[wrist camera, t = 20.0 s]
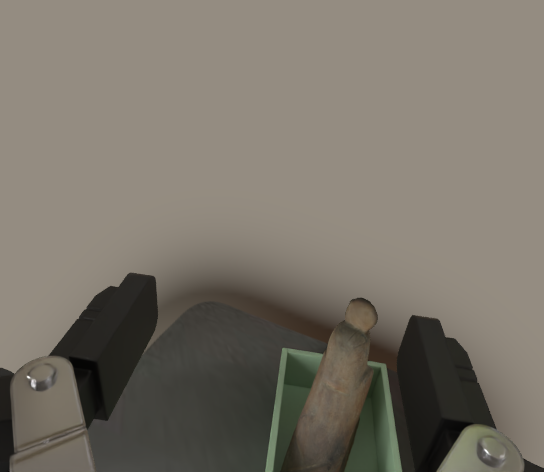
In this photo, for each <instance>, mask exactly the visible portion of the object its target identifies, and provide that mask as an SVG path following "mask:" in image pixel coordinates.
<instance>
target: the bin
mask: <svg viewBox="0 0 544 472" xmlns="http://www.w3.org/2000/svg"><path fill="white" fill-rule="evenodd" d="M322 356H323V354H319V353H313V352H307V351H300V350H294V349H287V348H282V355H281V362H280V369H279V376H278V383H277V391H276V398H275V405H274V412H273V420H272V427H271V434H270V441H269V448H268V456H267V463H266V470H265V472H280V471H281V468H282V465H283V462H284V459H285V456H286V453H287V450H288V447H289V444H290V441H291V439H292V436H293V432H294V430H295V428H296V425H297V422H298V419H299V417H300V415H301V412H302V410H303V407H304V405H305V403H306V400H307V397H308V395H309V392H310V390H311V387H312V385H313V382H314V379H315V376H316V374H317V371H318V368H319V365H320V362H321V359H322ZM367 365H368V366H370V367H371V368H372V369H373V372H374V373H373V377H372V381H371V384H370V388H369V391H368V394H367V397H366V400H365V403H364V405H363V408H362V411H361V413H360V421H359V426H358V428H357V431H356V435H355V440H354V444H353V446H352V449H351V452H350V454H349V458H348V461H347V465H346V467H345V471H344V472H402V468H401V462H400V455H399V448H398V442H397V435H396V429H395V422H394V415H393V409H392V402H391V396H390V389H389V382H388V376H387V369H386V364H383V363H376V362H371V361H368V362H367Z"/></svg>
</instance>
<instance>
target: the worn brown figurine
mask: <svg viewBox="0 0 544 472" xmlns="http://www.w3.org/2000/svg"><path fill="white" fill-rule="evenodd" d="M377 320H378V315H377V312H376V310H375V307H374V306H373V305H372V304H371V302H370V301H368V300H366V299H364V298H357V299H352V300H351V301H350V303H349V305H348V307H347V310H346V313H345V320H344V321H343V322H341V323H339V324H338V325H337V327H336V328H335V329H334V330H333V332H332V334H331V337H330V339H329V343H328V347H327V349H326V350H325V352H324V354H323V356H322V359H321V362H320V365H319V368H318V371H317V374H316V376H315V379H314V382H313V385H312V387H311V390H310V392H309V395H308V397H307V400H306V403H305V405H304V407H303V410H302V412H301V415H300V417H299V419H298V422H297V425H296V428H295V430H294V432H293V436H292V439H291V441H290V444H289V447H288V450H287V453H286V456H285V459H284V462H283V465H282V468H281V471H280V472H344V471H345V467H346V465H347V461H348V458H349V454H350V452H351V449H352V446H353V444H354V440H355V435H356V431H357V428H358V426H359V421H360V413H361V411H362V408H363V405H364V403H365V400H366V397H367V394H368V391H369V388H370V384H371V381H372V377H373V373H374V372H373V369H372V368H371V367H370V366H368V365H367V362H368V355H369V348H370V333H369V330H370V329H371V328H373V327H374V325H375V324H376V323H377Z"/></svg>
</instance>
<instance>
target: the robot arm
mask: <svg viewBox="0 0 544 472" xmlns="http://www.w3.org/2000/svg"><path fill="white" fill-rule="evenodd" d="M157 308H158V307H157V292H156V280H155V277H154V276H150V275H143V274H137V273H129V274H128V275H127V276H126V277H125V279H124V280H123V282H122V283H121V284H120V286H119V287H113V286H110V287H108V288H107V289H105V290H104V291H102V292H101V293H99V294H97V295H96V296H95V297H94V298H93V300H92V301H91V302H90V304H89V305H88V306H87V309H86V310H84V311H83V312H82V314H81V315H80V316H79V319H77V320H76V321H75V323H74V324H73V325H72V327H71V328H70V329H69V330H68V332H67V333H66V334H65V335H64V337H63V338H62V340H61V341H60V342H59V343H58V344H57V346H56V347H55V348H54V350H53V351H52V352H51V353H50V355H49V356H45V357H41V358H38V359H35V360H32V361H30V362H28V363H27V364H25V365H24V366H22V367H21V368H20V369H19V370H18V371H17V372H16V373H15V374H14V375H7V376H0V463H3V462H9V461H10V472H96V469H95V464H94V460H93V455H92V451H91V446H90V442H89V437H88V433H87V430H88V428H89V426H90V424H91V423H92V421H93V419H99V420H105V421H108V419H109V417H110V415H111V413H112V411H113V409H114V407H115V405H116V403H117V402H118V400H119V398H120V396H121V394H122V392H123V390H124V388H125V386H126V384H127V383H128V381H129V379H130V377H131V375H132V373H133V371H134V369H135V367H136V365H137V363H138V362H139V360H140V358H141V356H142V354H143V352H144V350H145V348H146V346H147V344H148V342H149V341H150V339H151V337H152V335H153V333H154V331H155V327H156V324H157V319H158V309H157ZM472 368H473V367H472V365H471V362H470V359H469V357H468V354H467V352H466V351H465V350H464V349H463V347H462V346H461V345H460V344H459V343H458V342H457V341H456V339H454V338H446V337H445V335H444V332H443V329H442V326H441V323H440V321H439V320H438V319H435V318H429V317H422V316H415V315H412V316H411V318H410V320H409V322H408V325H407V328H406V331H405V334H404V337H403V340H402V343H401V346H400V349H399V352H398V357H397V373H398V378H399V384H400V389H401V395H402V400H403V406H404V412H405V417H406V423H407V428H408V434H409V439H410V445H411V450H412V456H413V461H414V467H415V472H544V468H542V467H539V466H537V465H535V464H533V463H531V462H529V461H527V460H525V459H523V458H522V455H521V453H520V451H519V450H518V448H517V447H516V445H515V444H514V443H513V442H512V441H511V440H510V439H509V438H508V437H507V436H505V435H504V434H503V433H501V432H499V431H498V430H497V429H496V427H495V424H494V421H493V419H492V416H491V414H490V411H489V408H488V406H487V403H486V401H485V398H484V395H483V393H482V390H481V388H480V385H479V383H477V377H476V375H475V372H474V370H472Z"/></svg>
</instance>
